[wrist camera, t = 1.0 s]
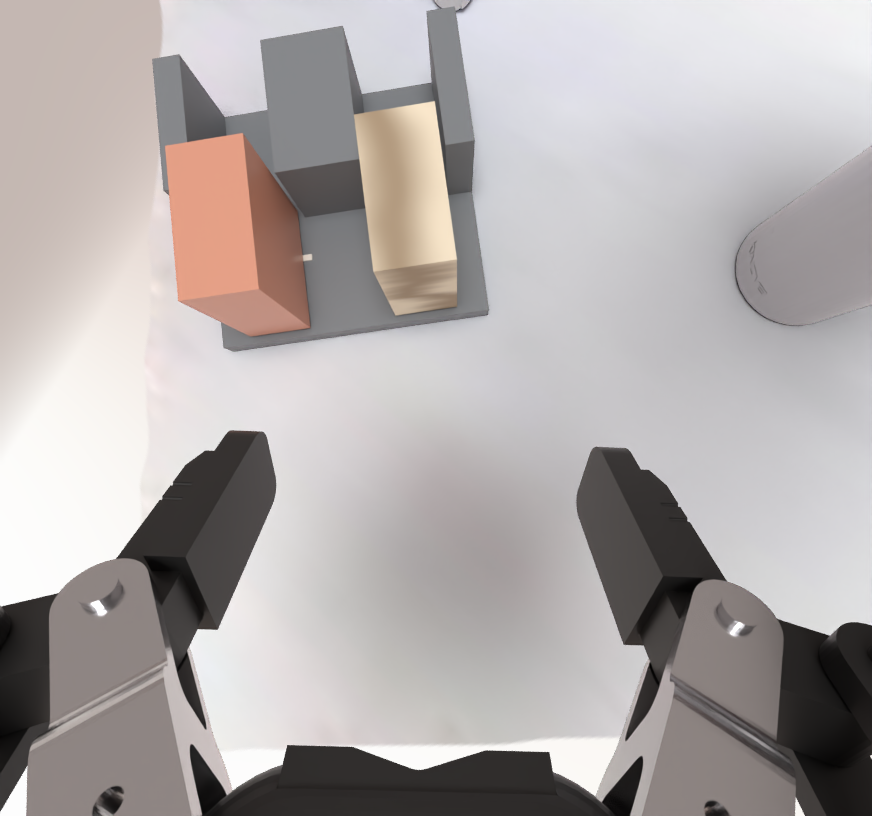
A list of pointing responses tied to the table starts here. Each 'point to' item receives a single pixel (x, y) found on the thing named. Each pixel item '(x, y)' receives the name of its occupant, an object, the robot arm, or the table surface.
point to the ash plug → (408, 207)
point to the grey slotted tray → (336, 168)
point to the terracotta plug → (235, 237)
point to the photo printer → (452, 3)
